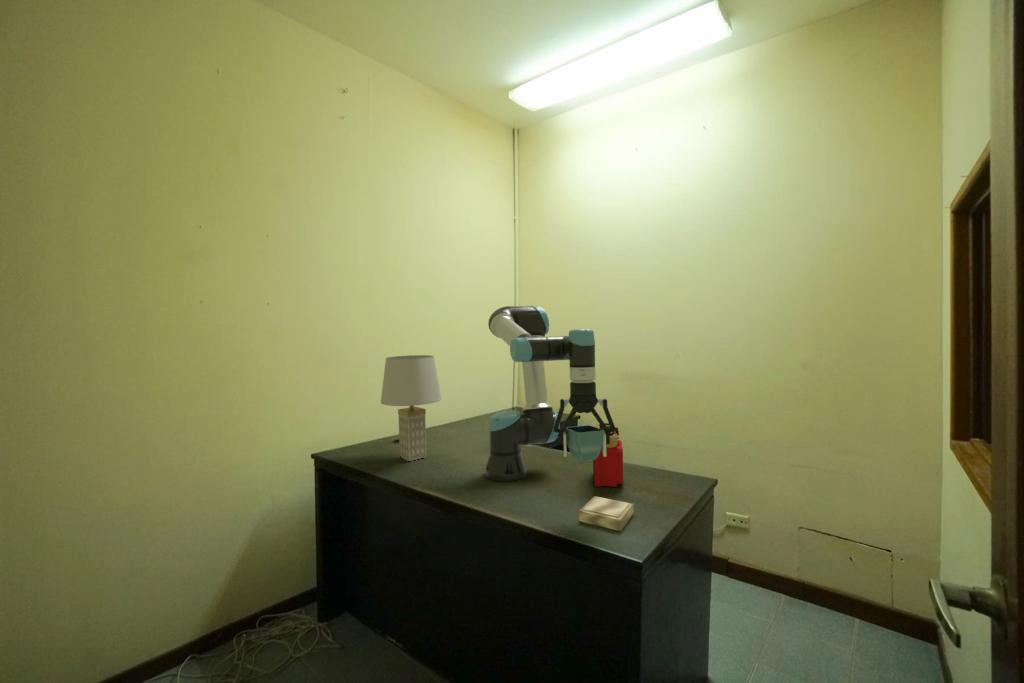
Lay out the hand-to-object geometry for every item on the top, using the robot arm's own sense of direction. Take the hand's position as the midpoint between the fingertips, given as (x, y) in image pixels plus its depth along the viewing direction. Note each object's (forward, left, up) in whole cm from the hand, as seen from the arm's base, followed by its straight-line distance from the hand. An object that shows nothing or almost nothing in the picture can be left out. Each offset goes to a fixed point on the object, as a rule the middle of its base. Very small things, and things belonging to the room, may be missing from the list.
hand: (584, 455), depth 127 cm
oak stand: (+7, -1, -17) cm, 18 cm away
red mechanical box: (-3, +28, -17) cm, 33 cm away
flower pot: (0, 0, -1) cm, 1 cm away
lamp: (-84, +13, -17) cm, 87 cm away
